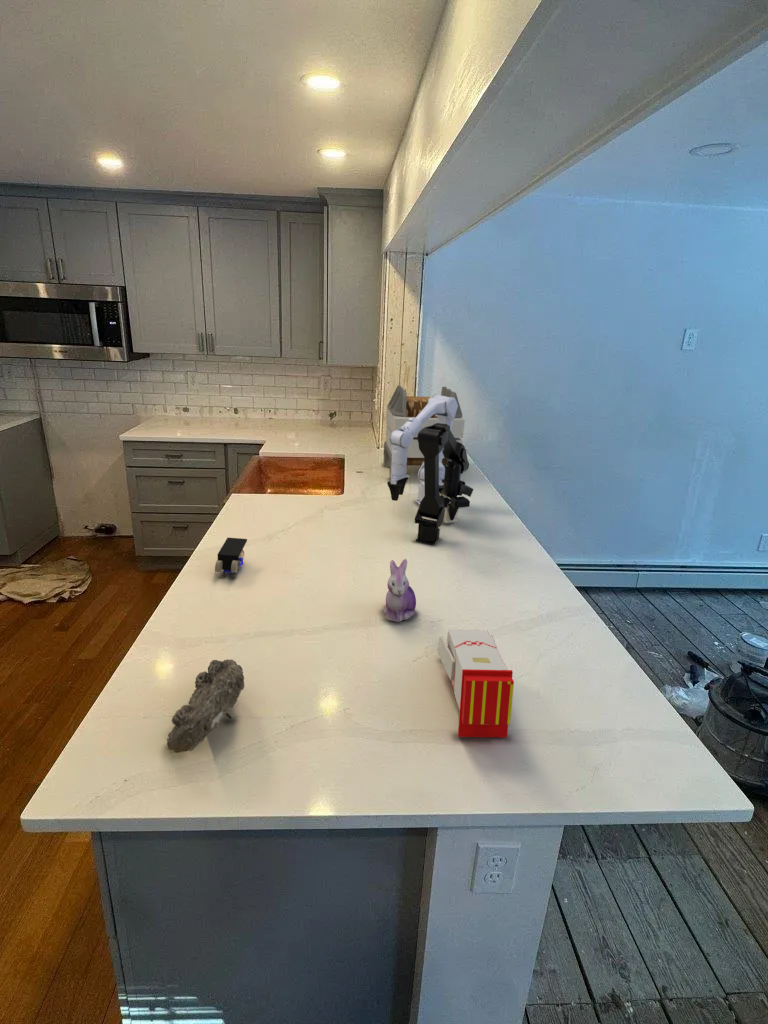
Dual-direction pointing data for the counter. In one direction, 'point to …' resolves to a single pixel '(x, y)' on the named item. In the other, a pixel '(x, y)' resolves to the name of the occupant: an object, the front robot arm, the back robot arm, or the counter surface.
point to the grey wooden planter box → (410, 407)
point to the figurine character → (230, 556)
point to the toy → (478, 682)
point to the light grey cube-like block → (447, 518)
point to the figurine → (399, 594)
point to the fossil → (206, 705)
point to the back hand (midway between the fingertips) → (397, 497)
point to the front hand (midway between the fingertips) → (448, 517)
